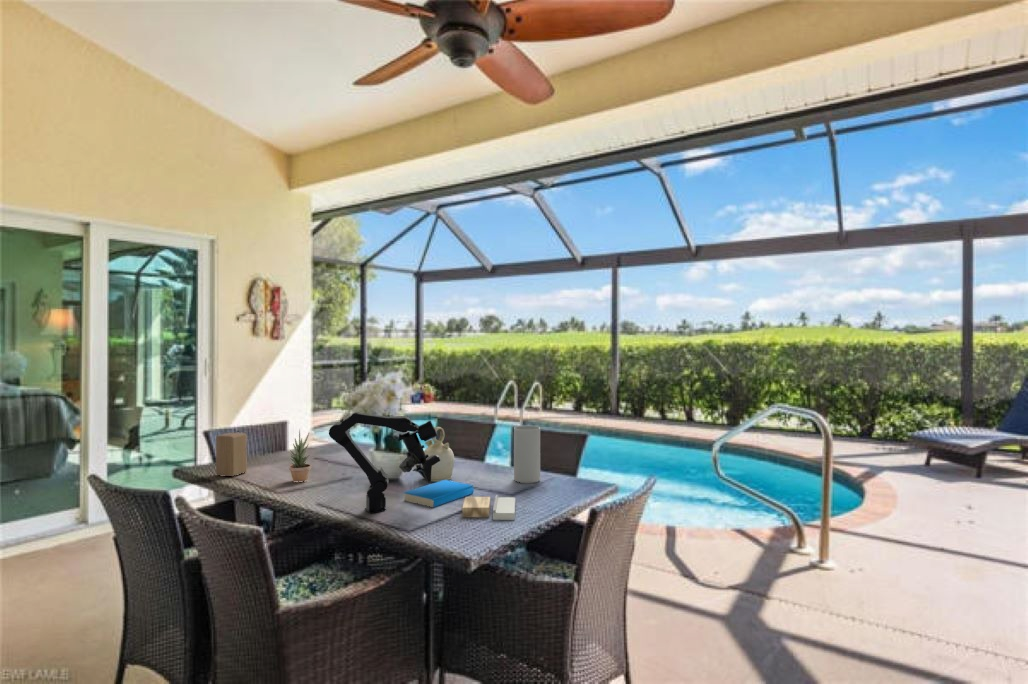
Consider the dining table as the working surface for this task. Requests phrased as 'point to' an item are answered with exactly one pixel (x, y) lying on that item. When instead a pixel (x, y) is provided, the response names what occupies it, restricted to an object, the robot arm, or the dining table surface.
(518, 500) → the dining table surface
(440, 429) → the jug
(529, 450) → the cylinder vase
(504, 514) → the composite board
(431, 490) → the book
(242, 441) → the wooden block
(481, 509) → the oak plank
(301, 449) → the potted plant
